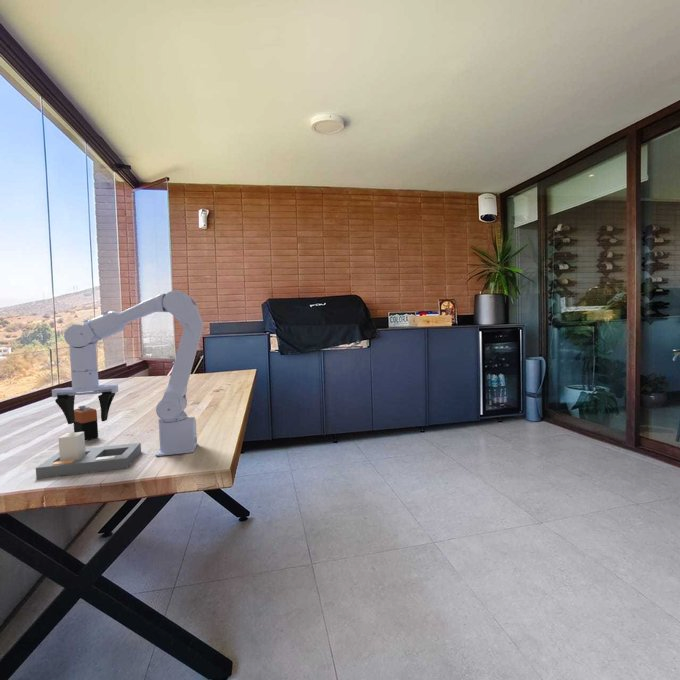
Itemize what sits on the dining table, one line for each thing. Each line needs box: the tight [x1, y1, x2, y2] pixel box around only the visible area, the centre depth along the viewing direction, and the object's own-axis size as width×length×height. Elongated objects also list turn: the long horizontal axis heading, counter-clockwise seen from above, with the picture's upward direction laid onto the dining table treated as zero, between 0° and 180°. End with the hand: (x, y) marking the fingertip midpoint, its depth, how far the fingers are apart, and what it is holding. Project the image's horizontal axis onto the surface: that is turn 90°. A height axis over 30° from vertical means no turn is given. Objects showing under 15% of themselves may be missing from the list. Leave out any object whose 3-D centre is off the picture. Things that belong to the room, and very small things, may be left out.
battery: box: [73, 405, 99, 442], centre depth 115 cm, size 4×7×10 cm, turn 57°
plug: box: [57, 431, 86, 461], centre depth 91 cm, size 4×4×8 cm
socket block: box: [35, 442, 142, 479], centre depth 92 cm, size 19×12×3 cm, turn 104°
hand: (88, 421), depth 95 cm, fingers open, 7 cm apart
